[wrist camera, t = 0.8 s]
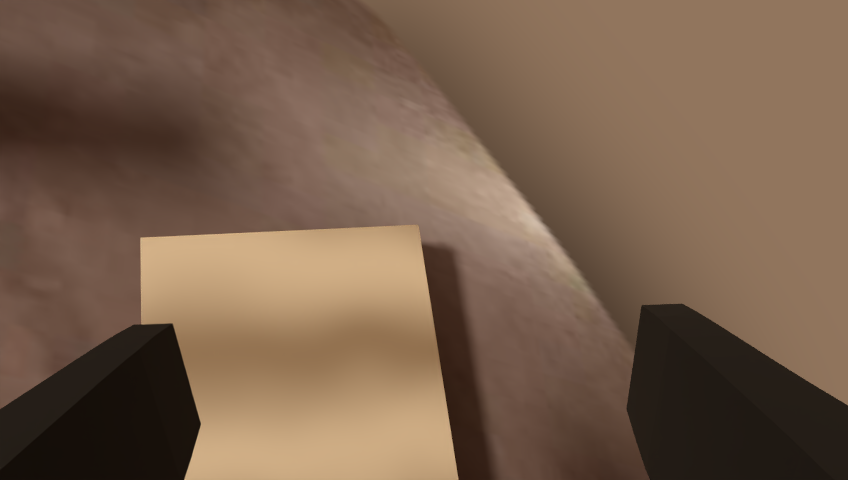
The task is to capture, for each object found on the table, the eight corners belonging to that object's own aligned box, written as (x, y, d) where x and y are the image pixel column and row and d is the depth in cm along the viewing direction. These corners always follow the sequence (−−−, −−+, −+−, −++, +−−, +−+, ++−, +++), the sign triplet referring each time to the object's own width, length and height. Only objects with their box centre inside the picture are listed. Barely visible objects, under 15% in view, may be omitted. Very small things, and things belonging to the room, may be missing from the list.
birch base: (442, 491, 22) (460, 495, 20) (152, 550, 19) (143, 561, 17) (405, 240, 25) (418, 224, 23) (148, 255, 22) (140, 237, 20)
